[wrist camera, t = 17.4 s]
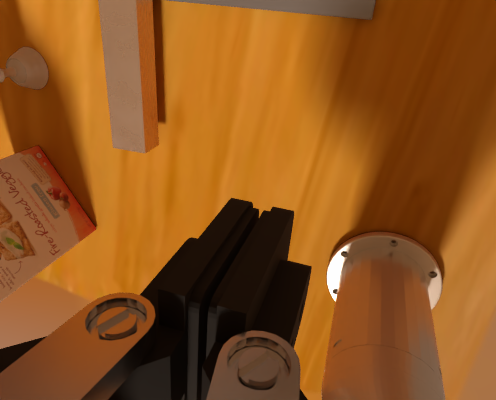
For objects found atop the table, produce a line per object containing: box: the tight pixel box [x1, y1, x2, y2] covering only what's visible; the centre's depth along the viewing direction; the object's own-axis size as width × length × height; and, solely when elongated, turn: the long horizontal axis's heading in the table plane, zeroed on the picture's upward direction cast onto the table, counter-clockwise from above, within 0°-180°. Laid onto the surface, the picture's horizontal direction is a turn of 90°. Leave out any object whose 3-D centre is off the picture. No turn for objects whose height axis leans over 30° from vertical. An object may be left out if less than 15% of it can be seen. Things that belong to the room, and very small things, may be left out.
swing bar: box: [98, 0, 159, 153], centre depth 39 cm, size 4×24×4 cm, turn 177°
